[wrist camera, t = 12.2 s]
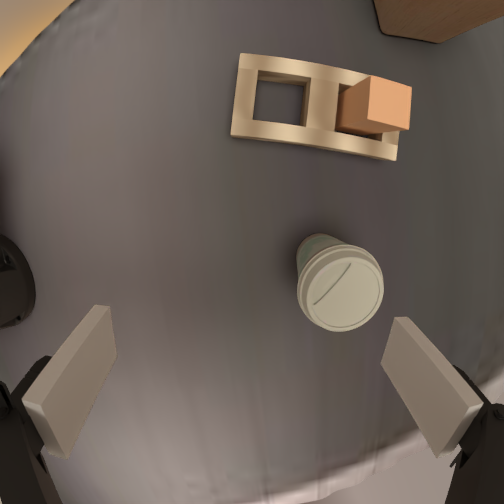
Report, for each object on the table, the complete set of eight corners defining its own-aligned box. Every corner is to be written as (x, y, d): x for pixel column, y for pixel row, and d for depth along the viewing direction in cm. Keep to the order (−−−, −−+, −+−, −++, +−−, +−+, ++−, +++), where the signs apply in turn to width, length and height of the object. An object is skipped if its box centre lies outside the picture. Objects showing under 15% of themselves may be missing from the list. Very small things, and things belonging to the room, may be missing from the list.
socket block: (232, 137, 35) (230, 134, 30) (241, 64, 32) (240, 53, 28) (380, 159, 36) (395, 160, 31) (386, 91, 33) (402, 85, 29)
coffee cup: (341, 212, 38) (380, 237, 26) (357, 274, 40) (394, 317, 28) (275, 235, 38) (288, 270, 27) (296, 296, 41) (313, 348, 29)
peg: (330, 129, 35) (367, 119, 23) (333, 97, 33) (370, 75, 22) (361, 135, 35) (408, 129, 23) (364, 104, 34) (411, 87, 22)
